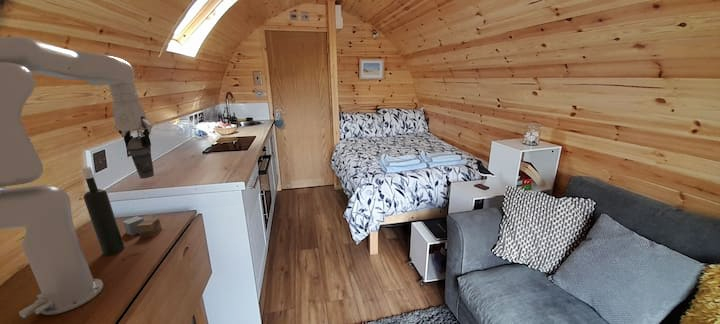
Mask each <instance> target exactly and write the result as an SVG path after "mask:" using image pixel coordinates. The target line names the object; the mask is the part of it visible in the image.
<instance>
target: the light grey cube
mask: <svg viewBox="0 0 720 324" xmlns="http://www.w3.org/2000/svg"><path fill="white" fill-rule="evenodd" d="M144 220H145V219H144V217H141V216H133V217H131V218H128V219H126V220H122V225H123V227H124V231H125V233H126V234H127V235H129V236H135V235H137V233H138V234H139V232H138V228H137V225H138V224H140V223H141V222H143V221H144Z"/></svg>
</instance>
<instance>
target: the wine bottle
mask: <svg viewBox="0 0 720 324" xmlns="http://www.w3.org/2000/svg"><path fill="white" fill-rule="evenodd" d="M81 169H82V174H83V176H84V177H83V178H84V179H85V181H86V183H87V184H86V185H87V187H88V191H87V192H86V193H84V195H83V200H84V203H85V207H86V209H87V212H88V215H89V217H90V220H91V223H92V226H93V229H94V232H95V235H96V238H97V241H98V244H99V246H100V250H101V252H102V254H103V256H106V257H108V256H113V255H116V254H119V253H120V252H122V251H123V250H125V245H124V242H123V239H122V236H121V233H120V230H119V226H118V223H117V220H116V217H115V214H114V211H113V208H112V204H111V200H110V198H109V195H108V192H107V191H106V190H105V189H99V188H98V187H97V183H96V180H95V176H94V173H93V170H92V168H91V166H85V167H82V168H81Z"/></svg>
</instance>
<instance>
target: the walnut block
mask: <svg viewBox="0 0 720 324" xmlns="http://www.w3.org/2000/svg"><path fill="white" fill-rule="evenodd" d="M160 221H161V220H160V218H159V217H158V218H147V219H144V221H143V222H141V223H140V224H138V225H137V228H138V232H139V233H138V235H139V237H141V238H150V237H149V236H153V237H155V236H156V235H158V234H159V233H160V232H161V231H162V230H163V229H162V225H161V222H160ZM159 231H160V232H159ZM158 232H159V233H158ZM157 233H158V234H157Z"/></svg>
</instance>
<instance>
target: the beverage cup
mask: <svg viewBox="0 0 720 324" xmlns="http://www.w3.org/2000/svg"><path fill="white" fill-rule="evenodd" d="M136 132H137V134H136V135H137V137H133V139H131V140H130V141H129V143H128V148H127V151H128V152H129V155H130V157H131V159H132V161H133V163H134V166H135V170H136V171H137V174H138V176H139V179H150V178H152V177H154V176H155V175H154V174H155V172H154V171H155V170H154V166H153V165H154V164H153V159H152V153H151V152H152V149H151V147H152V145H151V146H148V147H143V146H142V143H141V139H140V137H141V136H140V133H139V132H138V130H136Z"/></svg>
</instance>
